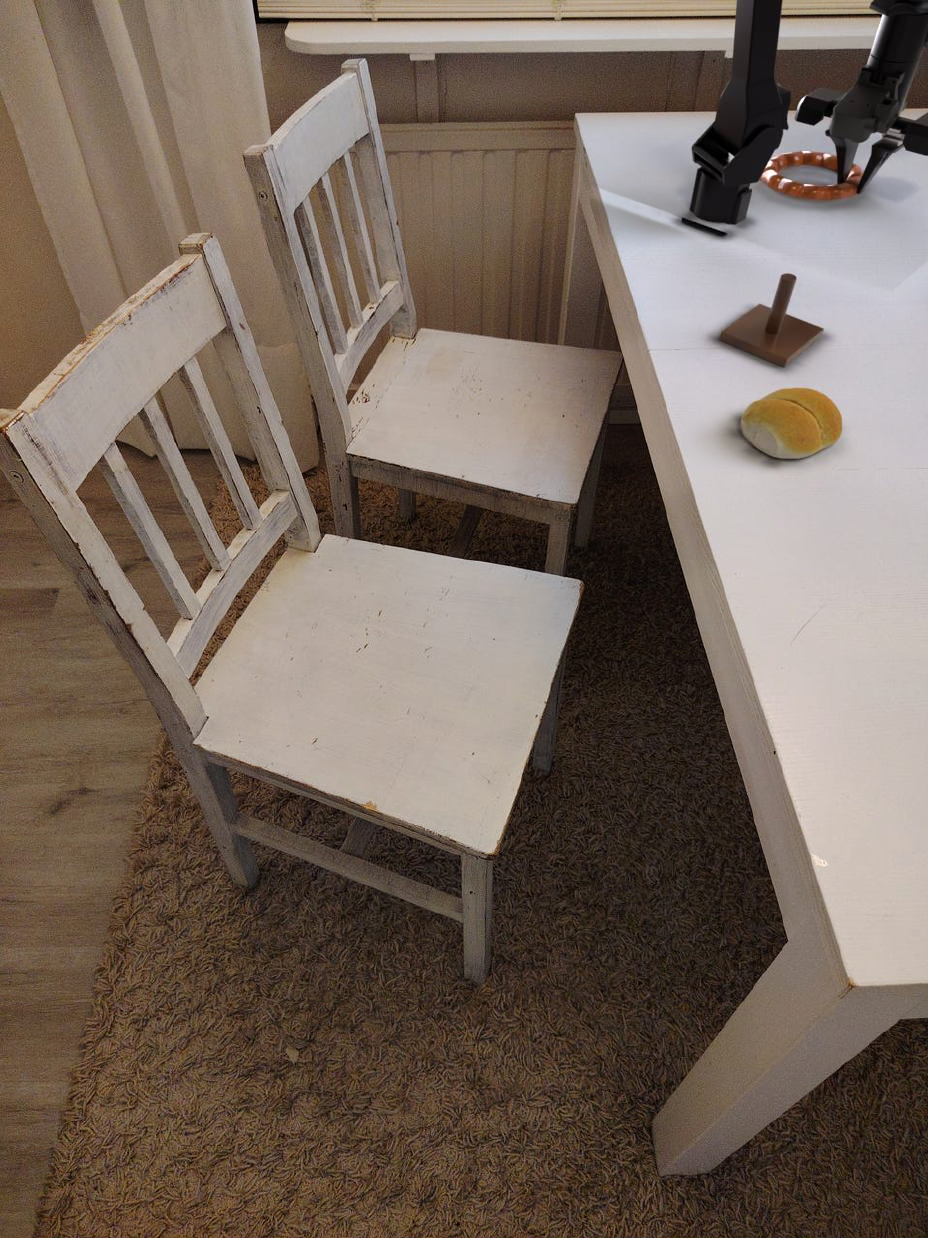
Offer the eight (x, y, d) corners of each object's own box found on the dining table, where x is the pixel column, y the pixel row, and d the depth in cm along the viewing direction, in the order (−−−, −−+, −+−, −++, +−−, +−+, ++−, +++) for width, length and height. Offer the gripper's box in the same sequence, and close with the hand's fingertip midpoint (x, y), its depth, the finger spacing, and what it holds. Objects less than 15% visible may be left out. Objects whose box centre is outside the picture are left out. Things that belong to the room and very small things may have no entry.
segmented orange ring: (739, 188, 112) (744, 170, 110) (789, 158, 118) (794, 140, 116) (830, 217, 105) (836, 199, 103) (878, 184, 111) (885, 166, 110)
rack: (718, 339, 87) (734, 278, 82) (757, 311, 91) (774, 250, 86) (784, 367, 84) (804, 305, 78) (821, 336, 87) (843, 275, 82)
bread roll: (852, 438, 76) (868, 403, 73) (787, 473, 73) (801, 438, 70) (787, 396, 80) (799, 361, 77) (723, 427, 77) (733, 392, 74)
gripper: (791, 55, 97) (757, 190, 109) (943, 90, 88) (888, 231, 100) (835, 34, 102) (798, 165, 114) (983, 64, 93) (926, 202, 105)
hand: (849, 190), depth 108 cm, fingers closed on segmented orange ring, 2 cm apart
